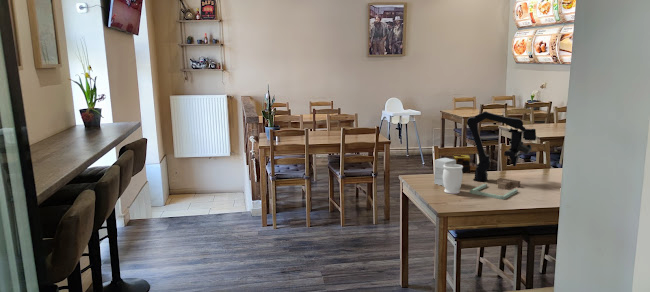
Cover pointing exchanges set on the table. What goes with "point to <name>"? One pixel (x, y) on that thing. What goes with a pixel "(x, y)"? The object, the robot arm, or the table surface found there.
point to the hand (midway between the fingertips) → (514, 165)
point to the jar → (452, 178)
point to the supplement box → (441, 169)
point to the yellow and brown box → (463, 162)
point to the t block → (507, 183)
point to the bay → (476, 191)
